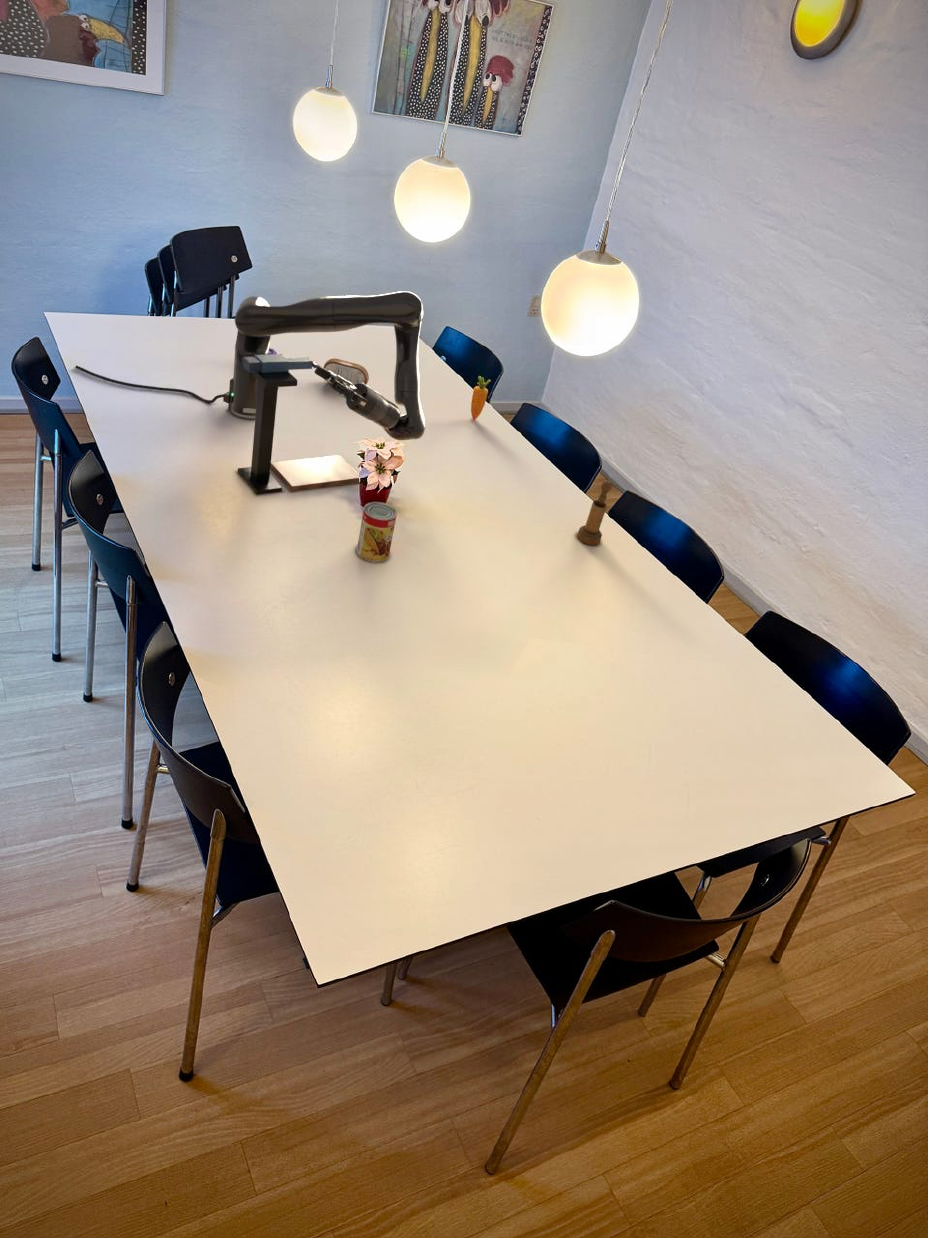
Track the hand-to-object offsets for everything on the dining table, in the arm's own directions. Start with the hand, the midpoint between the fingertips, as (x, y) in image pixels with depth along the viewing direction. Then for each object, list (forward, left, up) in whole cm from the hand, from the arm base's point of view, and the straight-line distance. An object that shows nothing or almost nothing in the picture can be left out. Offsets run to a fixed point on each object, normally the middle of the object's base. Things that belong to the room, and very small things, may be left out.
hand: (324, 376), depth 222 cm
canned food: (+29, -24, -29) cm, 48 cm away
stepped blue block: (-7, -10, +3) cm, 12 cm away
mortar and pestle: (+74, +21, -29) cm, 82 cm away
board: (+1, +1, -28) cm, 28 cm away
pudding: (-47, +56, -29) cm, 78 cm away
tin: (-21, +61, -29) cm, 70 cm away
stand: (-9, -12, -28) cm, 32 cm away
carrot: (+22, +71, -29) cm, 80 cm away
